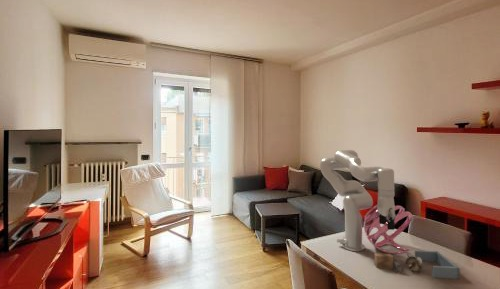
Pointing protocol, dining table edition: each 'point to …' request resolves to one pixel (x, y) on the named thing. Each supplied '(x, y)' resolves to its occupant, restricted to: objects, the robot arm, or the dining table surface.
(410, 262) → the eagle figurine
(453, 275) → the box
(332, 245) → the dining table surface
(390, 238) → the spiral basket
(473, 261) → the dining table surface
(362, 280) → the dining table surface
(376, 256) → the brown grey block
